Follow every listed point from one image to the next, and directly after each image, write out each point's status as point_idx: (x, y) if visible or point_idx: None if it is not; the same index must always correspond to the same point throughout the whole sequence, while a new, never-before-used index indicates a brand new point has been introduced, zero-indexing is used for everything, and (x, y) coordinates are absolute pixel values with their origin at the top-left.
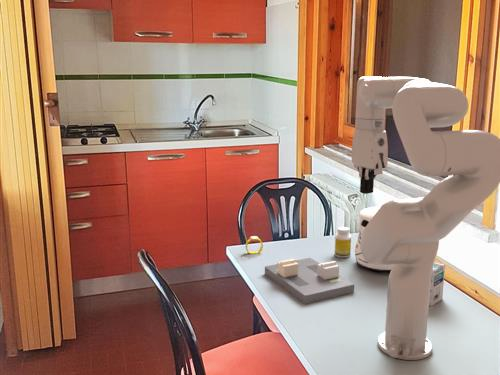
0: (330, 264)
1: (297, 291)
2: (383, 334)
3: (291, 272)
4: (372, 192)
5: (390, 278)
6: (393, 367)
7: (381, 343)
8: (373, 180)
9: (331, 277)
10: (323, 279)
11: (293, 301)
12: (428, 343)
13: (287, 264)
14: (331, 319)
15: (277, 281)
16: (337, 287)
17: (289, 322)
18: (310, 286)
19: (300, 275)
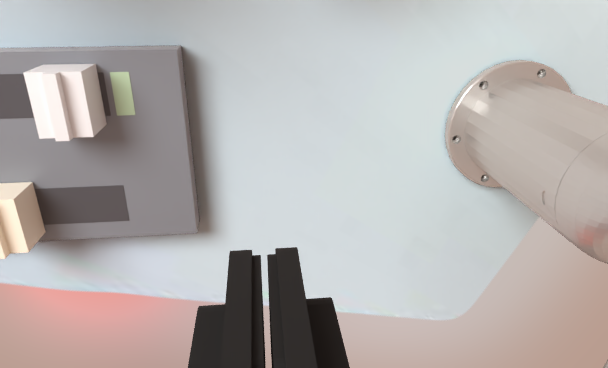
0: (63, 101)
1: (153, 232)
2: (456, 150)
3: (33, 211)
4: (295, 249)
5: (604, 262)
6: None
7: (480, 178)
8: (313, 346)
9: (100, 97)
10: None
11: (173, 239)
12: (551, 78)
13: (10, 234)
14: (308, 202)
15: None
16: (179, 118)
17: None
18: (141, 190)
19: (41, 177)
